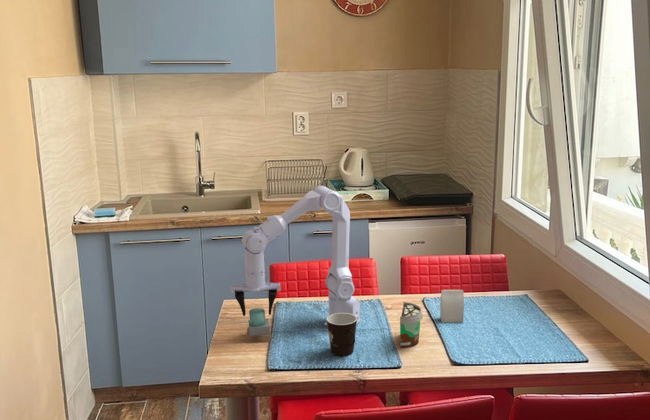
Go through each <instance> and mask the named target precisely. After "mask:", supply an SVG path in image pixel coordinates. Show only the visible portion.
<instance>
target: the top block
mask: <svg viewBox="0 0 650 420" xmlns="http://www.w3.org/2000/svg"><path fill="white" fill-rule="evenodd" d="M247 321H248V327H249V333H250V336H257V335H268V334H270V327H271V326H270V321H269V318H265V325H263V326H259V327H254V326H251V325H250V319H249V320H247Z"/></svg>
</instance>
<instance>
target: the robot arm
mask: <svg viewBox="0 0 650 420" xmlns="http://www.w3.org/2000/svg"><path fill="white" fill-rule="evenodd" d="M321 208H322V209H323V210H324V211H326V212H327V213H328V214H329V215H330V216H331V217H332V227H331V228H332V229H331V230H332V232H331V242H332V243H331V264H330V267H329V268H328V272H327V273H328V274H327V276H326V279H325V286H326V288H327V289H328V316H329V315H332V314H335V313H349V314H353V315H355V316H356V317H357V324H356V326H357V325H358V324H359V323H360V322H361V321H362V319H361V305H360V304H361V303H360V302H361V301H360V299H359V298H357V297H354V296H353V295H354V292H355V285H354V283H353V275H352V273H351V271H350V268H349V267H350V266H349V264H350V263H349V262H350V228H351V227H350V225H351V212H350V209H349V207H348V205H347V203H346V201H344V196H342V195H341V194H339V192H337V191H335V190H333V189H331V188H329V187H327V186H325V185H317V186H316V187H314V188H313V190H309V191H308V192H307V193H306V194H305V195H304V196H303V197H302V198H300V199H299V200H298V201H296V202H295V203H294V204H293V205H292V206H290V207H289V208H288V209H287V210H285V211H284V212H283V213H282V214H280V215H277V214H276V215H275V214H273V215H272V216H270V215H269V216H267V217H266V220H265V221H263V222H262V223H261V224H258V226H254V227H253V229H251V230H250V229H249V230H247V231H246V232H244V233H243V236H242V238H241V240H240V241H241V245H242V247H244V271H245V273H244V274H245V283H240V284H239V283H238V284H231V285H230V293H231V294H234V298H235V300H236V301H237V303H238V305H239V307H240V310H241V312H242V316H243V317H245V316H246V313H247V312H246V303H245V293H257V292H268V294H267V295H268V315H269V316H270V315H272V311H273V310H272V309H273V305H274V302H275V300H276V298H277V295H278V294H277V293H278V292H281V283H280V282H267V281H266V271H265V253H264V251H265V249H266V247H267V244H268V243H271V242H272V241H273V240H275V239H276V238H277V237H278V236H280V235H281V234H283V233H284V232H285V231H286V228H287V226H288V225H289V224H291V223H292V222H293V221H295V220H298V218H299V217H301V216H303V215H305V214H306V213H308V212H310V211H311V212H321V211H322V209H321ZM324 325H325V326H327V321H325V322H324Z"/></svg>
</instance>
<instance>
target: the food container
mask: <svg viewBox="0 0 650 420" xmlns="http://www.w3.org/2000/svg"><path fill="white" fill-rule="evenodd" d="M402 304H403V307H402V311H401V316H399V318H400V319H399V324H400V325H399V328H400V329H399V333H400V334H399V339H400V340H399V341H400V343H399V345H400V346H399V347H400V348H399V349H405V348H406V349H407V348H412V347H415V346H417V345H418V344H419V340H420V331H421V320H422V319H423V318H424V314H423V310H422V308H421V307H420V306H419V305H417V304H416V303H412V302H407V301H405V302H404V301H403V303H402Z"/></svg>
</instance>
